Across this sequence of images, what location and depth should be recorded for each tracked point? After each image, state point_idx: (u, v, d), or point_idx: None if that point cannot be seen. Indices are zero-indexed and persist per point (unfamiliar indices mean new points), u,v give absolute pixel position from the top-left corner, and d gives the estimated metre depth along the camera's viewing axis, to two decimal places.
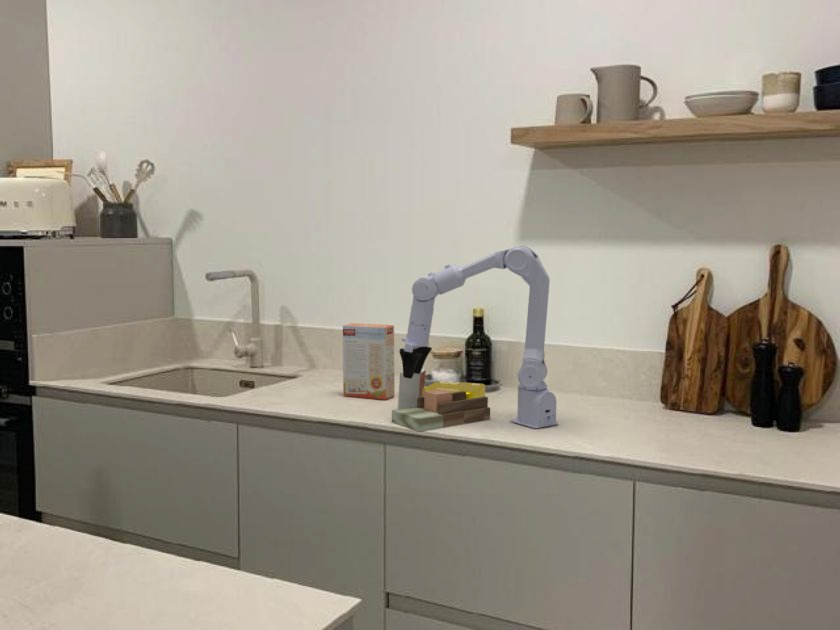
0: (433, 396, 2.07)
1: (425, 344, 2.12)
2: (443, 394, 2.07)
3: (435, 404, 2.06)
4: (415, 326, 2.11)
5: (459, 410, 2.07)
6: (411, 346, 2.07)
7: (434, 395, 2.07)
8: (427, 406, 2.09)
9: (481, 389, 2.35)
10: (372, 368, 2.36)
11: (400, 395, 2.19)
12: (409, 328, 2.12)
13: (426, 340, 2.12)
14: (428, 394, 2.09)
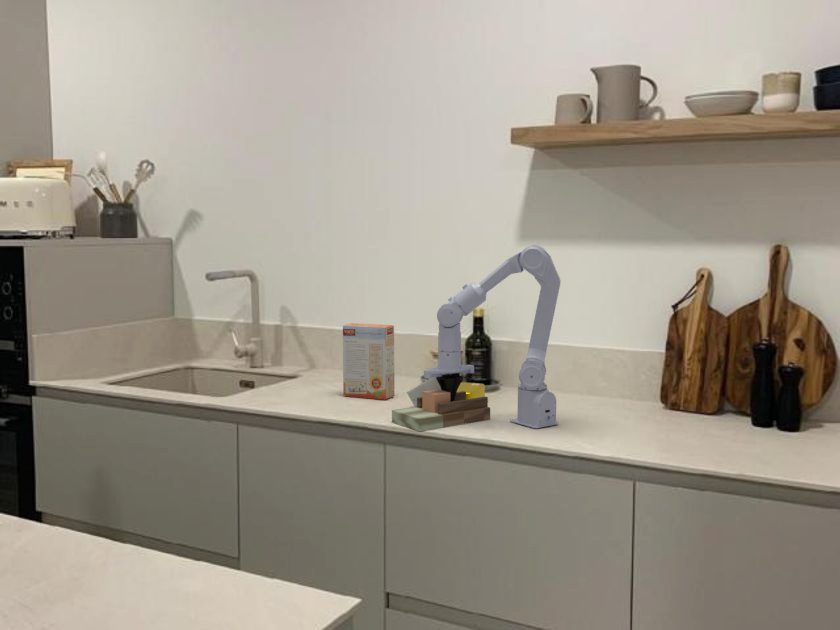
0: (431, 396, 2.06)
1: (451, 370, 2.08)
2: (441, 394, 2.07)
3: (433, 404, 2.06)
4: (439, 353, 2.09)
5: (459, 410, 2.07)
6: (427, 372, 2.06)
7: (432, 395, 2.06)
8: (425, 407, 2.09)
9: (481, 389, 2.35)
10: (372, 368, 2.36)
11: (420, 386, 2.19)
12: None
13: (452, 366, 2.08)
14: (426, 394, 2.08)
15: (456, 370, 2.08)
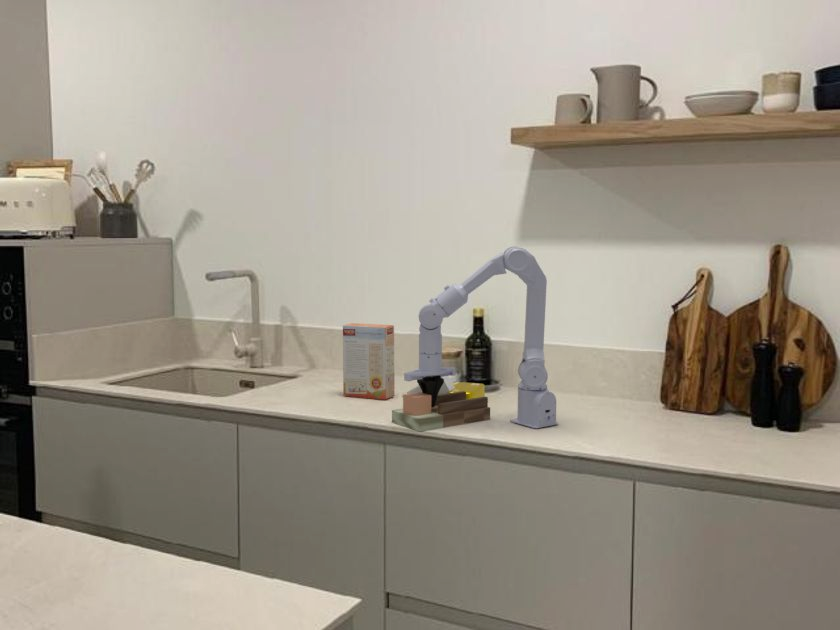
0: (412, 399, 2.03)
1: (431, 373, 2.04)
2: (422, 397, 2.03)
3: (414, 407, 2.03)
4: (420, 355, 2.06)
5: (459, 410, 2.07)
6: (408, 375, 2.03)
7: (412, 398, 2.03)
8: (405, 410, 2.06)
9: (481, 389, 2.35)
10: (372, 368, 2.36)
11: None
12: None
13: (433, 369, 2.05)
14: (407, 397, 2.05)
15: (437, 373, 2.05)
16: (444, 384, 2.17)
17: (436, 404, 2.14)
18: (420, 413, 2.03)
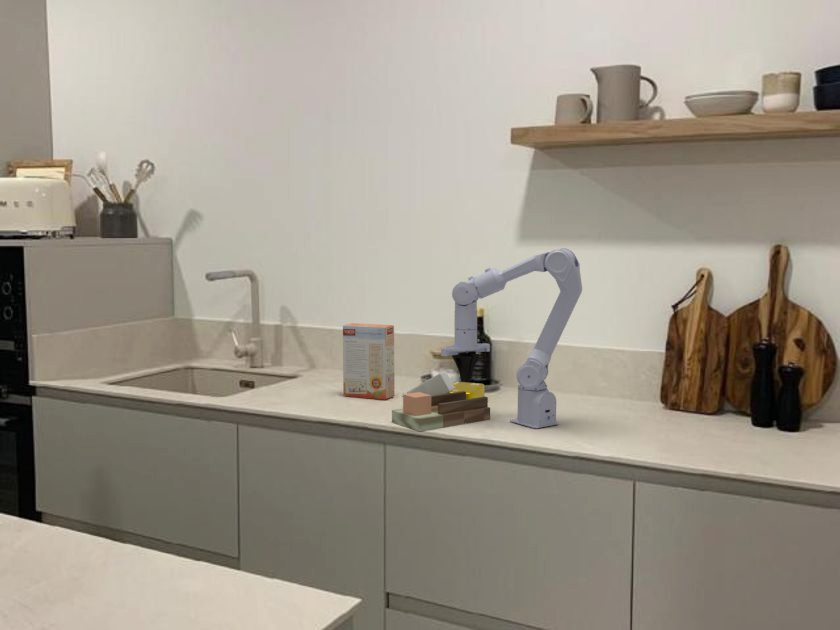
0: (412, 399, 2.03)
1: (467, 348, 2.09)
2: (422, 397, 2.03)
3: (414, 407, 2.03)
4: (456, 331, 2.10)
5: (459, 410, 2.07)
6: (444, 350, 2.07)
7: (412, 398, 2.03)
8: (405, 410, 2.06)
9: (481, 389, 2.35)
10: (372, 368, 2.36)
11: (420, 386, 2.19)
12: None
13: (469, 344, 2.09)
14: (407, 397, 2.05)
15: (473, 348, 2.09)
16: (444, 384, 2.17)
17: (436, 404, 2.14)
18: (420, 413, 2.03)
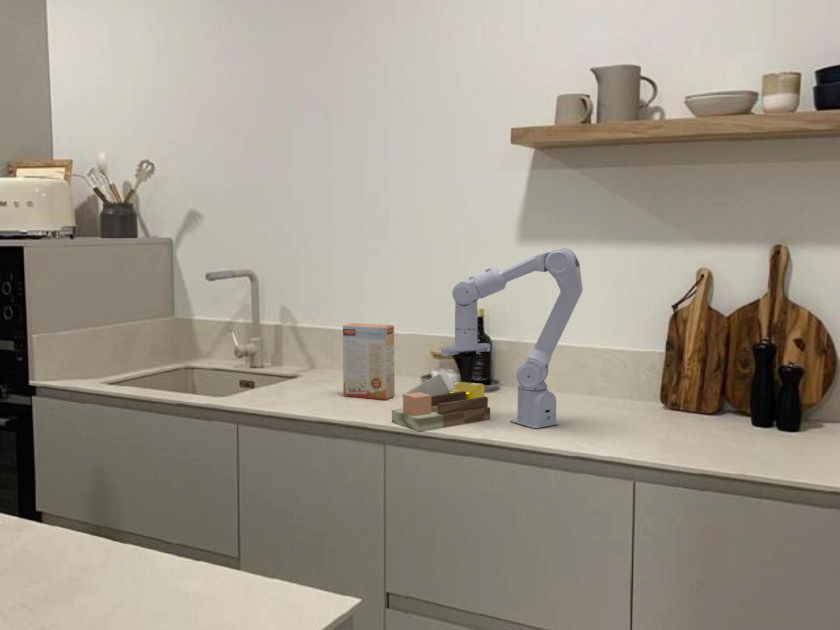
0: (412, 399, 2.03)
1: (468, 348, 2.09)
2: (422, 397, 2.03)
3: (414, 407, 2.03)
4: (456, 330, 2.10)
5: (459, 410, 2.07)
6: (445, 350, 2.07)
7: (412, 398, 2.03)
8: (405, 410, 2.06)
9: (480, 389, 2.35)
10: (372, 368, 2.36)
11: (420, 386, 2.19)
12: None
13: (469, 344, 2.09)
14: (407, 397, 2.05)
15: (473, 348, 2.10)
16: (444, 384, 2.17)
17: (436, 404, 2.14)
18: (420, 413, 2.03)
